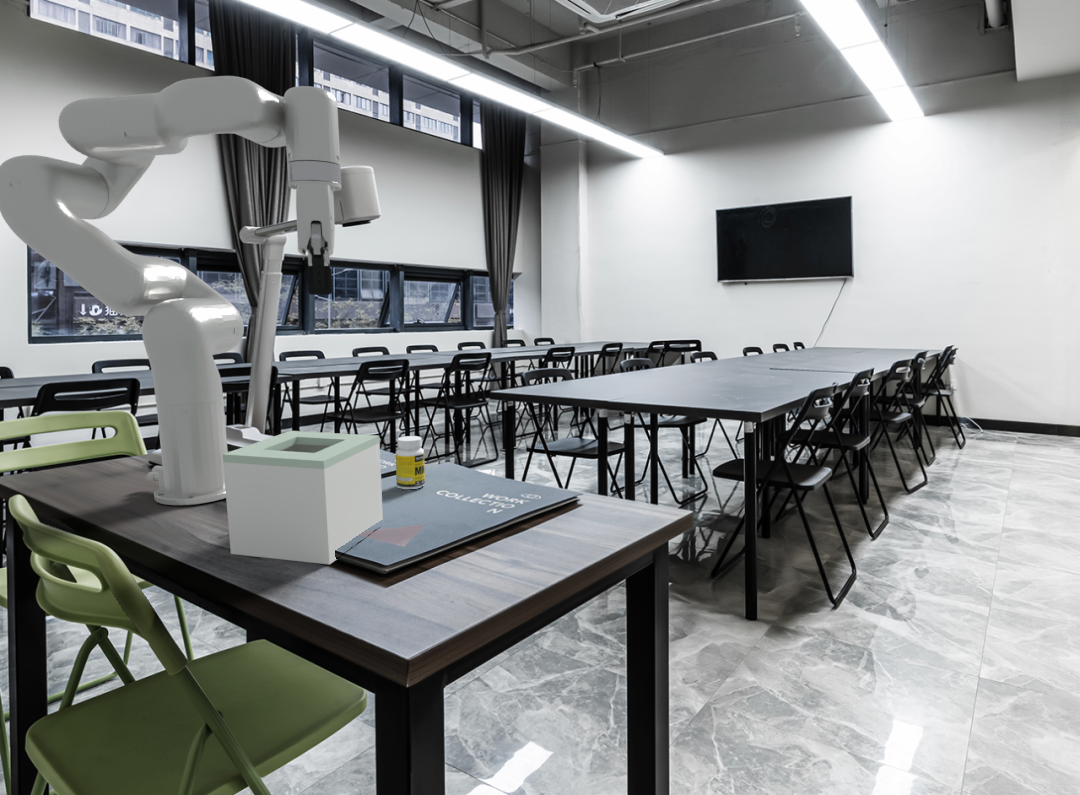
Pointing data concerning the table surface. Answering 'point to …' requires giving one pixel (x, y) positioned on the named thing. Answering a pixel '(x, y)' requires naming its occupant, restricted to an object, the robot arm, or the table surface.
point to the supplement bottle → (410, 463)
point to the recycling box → (302, 494)
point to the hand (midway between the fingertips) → (321, 294)
